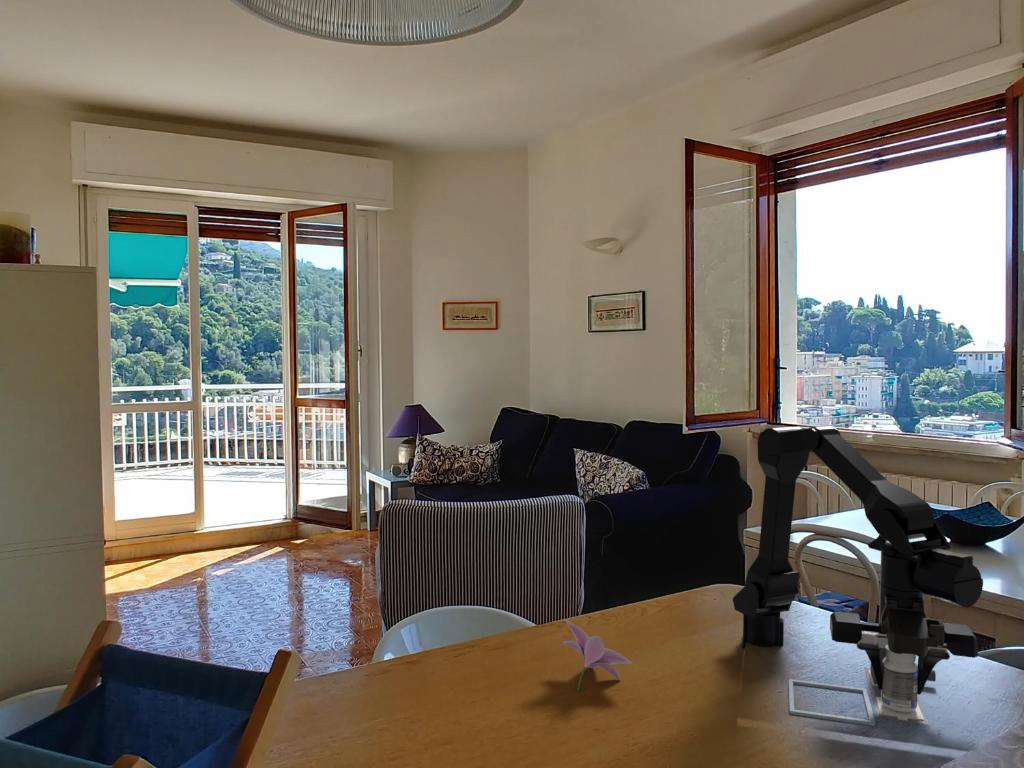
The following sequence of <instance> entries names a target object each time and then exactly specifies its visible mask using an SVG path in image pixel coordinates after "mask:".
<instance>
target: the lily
mask: <svg viewBox="0 0 1024 768" xmlns="http://www.w3.org/2000/svg"><path fill="white" fill-rule="evenodd" d="M564 622H565V623H566V625H567V627H568V628H569V629H570V630H571V632H572V634H573V636H574V639H575V640H564V641H562V644H564V645H565V646H568V647H569V648H571V649H573V650H574V651H576V652H578V653H580V654H581V656H582V658H583V660H584V666H583V668H582V670H581V673H580V676H579V679H578V680H579V681H578V682H577V683H578V684H577V688H576V690H577V691H579V690H580V686H581V682H582V680H583V679H582V678H583V675H584V674H585V671H586V668H588V667H589V668H591V669H596V668H599V667H601V668H602V669H604V670H606V671H607V672H608V673H610V674H611V675H612V676H614V678H616V679H617V680H618V681H620V682H621V680H622V679H621V677H620V674H619V672H618V671H617V670H616V668H615V667H614V666H613V665H622V664H623V665H624V664H625V665H631V664H633V662H632V661H631V660H630V659H628V657H626V656H624V655H623V654H621V653H619V652H618V651H617V650H616V651H615V650H614V649H611V648H606V647H605V645H604V643H603V640H602V639H601V637H600V636H599V635H593V636H590V637H589V635H588V634H587V633H586V632H585V631H584V630H583V629H582V628H580V627H579V626H577V624H575V623H573V622H571V621H569V620H566V619H565V621H564ZM587 666H588V667H587Z"/></svg>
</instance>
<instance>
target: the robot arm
mask: <svg viewBox="0 0 1024 768" xmlns="http://www.w3.org/2000/svg"><path fill="white" fill-rule="evenodd" d="M840 432H841V431H839V429H837V428H836V427H833V426H832V425H818V426H811V427H808V428H802V427H800V426H783V427H782V426H781V427H780V426H779V427H768V428H766V429H764V430H763V431H762V432H760V433H759V435H758V438H757V461H758V463H759V465H760V467H761V468H760V469H761V471H762V472H763V475H764V476H765V480H764V489H763V490H764V492H763V503H762V512H761V524H760V533H759V534H760V535H759V544H758V545H759V547H758V553H757V557H756V558H755V559H754V560H753V562H752V563H751V565H750V567H749V568H748V570H747V573H746V577H745V582H744V587H742V588H741V589H740V590H739V591H738V592H737V593H735V595H734V596H733V597H732V602H733V607H734V610H735V611H737V612H739V613H741V614H742V639H741V648H742V649H746V645H747V644H749V645H753V646H756V647H765V648H771V647H775V646H776V647H780V646H781V647H783V646H784V633H785V631H784V630H785V629H784V625H785V624H784V623H785V622H784V619H783V618H782V617H781V613H782V612H789V611H790V609H791V605H792V602H794V601H795V599H796V595H799V594H800V591H799V581H800V577H801V576H800V572H799V571H796V570H794V568H793V566H792V564H791V562H790V560H789V555H790V554H789V553H790V545H791V544H790V543H791V542H790V541H791V535H792V523H793V513H794V512H793V511H794V503H795V493H796V492H795V490H796V482H797V480H798V478H799V476H800V475H801V473H802V472H803V471H804V469H805V468H806V466H807V464H808V461H809V456H810V453H811V452H812V453H814V455H816V457H817V458H818V459H819V460H820V461H821V462H822V463H823V464H824V465H825V466H826V467H827V468H828V469H829V470H830V471H831V472H832V473H833V475H835V476H836V477H837V478H838V479H839V480H840V481H841V482H842V483H843V484H844V485H845V486H846V487H847V489H848V490H849V491H851V493H853V495H855V496H856V498H858V500H859V501H860V502H861V503H862V505H863V509H864V515H865V518H866V519H867V520H868V521H869V523H870V524H871V526H872V527H873V528H874V530H875V531H876V532H877V534H878V536H877V537H876V538H875V539H873V540H872V541H870V542H869V543H868V544H867V546H868V549H872V550H875V551H878V552H880V570H879V571H880V574H879V575H880V578H879V579H880V580H879V581H880V582H879V610H878V612H879V616H878V622H877V623H875V622H866V621H861V619H860V618H861V617H860V615H859V613H854V612H852V613H851V612H842V611H833V612H832V613H831V614H830V617H829V631H830V637H831V640H832V641H834V642H836V643H844V644H852V645H855V646H856V648H857V649H859V650H861V651H864V652H865V653H866V655H867V657H868V660H869V662H870V665H871V664H872V667H873V671H874V674H875V677H876V681H877V684H878V688H879V689H880V690H882V672H881V663H880V648H879V645H878V643H877V637H881V638H887V640H888V648H889V650H890V651H892V652H893V653H897V654H902V653H906V654H915V655H916V657H918V658H917V666H918V686H917V696H921V694H922V692H923V690H924V689H925V686H926V684H927V679H928V677H929V675H930V673H931V671H932V670H934V668H935V666H936V665H937V664H938V663H940V661H942V660H944V661H945V660H946V661H948V660H950V658H951V655H952V656H955V657H965V658H972V659H975V658H978V657H979V643H978V639H977V638H976V636H975V634H974V633H973V631H972V629H971V628H969V626H968V625H966V624H958V623H949V622H944V620H943V619H935V618H929V617H927V616H926V613H925V604H924V603H925V595H926V596H929V597H932V598H935V599H937V600H941V601H943V602H946V603H949V604H951V605H952V604H953V605H955V606H958V607H961V608H964V609H965V608H966V609H967V608H970V607H972V606H974V605H975V604H976V603H978V600H979V599H980V597H981V595H982V592H983V587H984V579H983V578H982V574H981V572H980V570H979V568H977V566H975V565H974V564H973V563H974V562H973V561H974V557H973V556H972V555H970V554H967V553H958V552H953V551H950V550H951V548H952V547H951V545H950V543H949V542H948V539H947V538H946V536H945V533H943V530H942V529H941V527H940V526H939V523H938V522H937V520H936V518H935V516H934V514H935V513H934V510H933V507H932V506H930V504H929V503H928V502H926V500H924V499H922V497H920V496H918V495H917V494H915V493H913V492H912V491H911V490H909V489H907V488H904V487H902V486H899V485H897V484H894V483H892V482H891V481H890V480H888V479H887V478H886V477H884V475H882V474H881V473H880V472H879V471H878V470H877V469H876V468H875V466H873V465H872V464H871V463H870V462H869V461H868V460H866V458H865V457H864V456H863V455H861V453H860V452H858V450H857V449H855V448H854V447H853V446H852V445H851V444H850V443H849V442H848V441H847V440H846V439H845V438H843V436H842V435H841V433H840ZM922 538H925V539H922ZM915 539H922V540H915ZM910 540H915V541H910ZM950 654H951V655H950Z"/></svg>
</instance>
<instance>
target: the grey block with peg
mask: <svg viewBox="0 0 1024 768" xmlns="http://www.w3.org/2000/svg"><path fill="white" fill-rule="evenodd" d="M877 643H878V645H879V648H880V663H881V672H882V661H883V659H884V658H886V657H885V646H886V645H888V640H887V638H881V637H877ZM870 669H871V675H872V678H873V682H874V684H877V681H876V677H875V674H874V671H873V667H872V664H871V663H870ZM936 674H937V673H936V671H935V670H934V669H932V671H931V673H930V675H929V677H928V679H927V681H928V682H936V679H937V678H936V677H937V676H936ZM927 681H926V682H927Z"/></svg>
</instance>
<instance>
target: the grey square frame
mask: <svg viewBox="0 0 1024 768" xmlns="http://www.w3.org/2000/svg"><path fill="white" fill-rule="evenodd" d="M794 685H799V686H806V687H815V688H820V689H822V688H823V689H829V690H837V691H844V692H845V691H846V692H853V693H860V694H862V696H863V700H864V704H865V709H866V713H867V716H868V719H864V718H863V719H862V718H855V717H849V716H843V715H836V714H835V715H834V714H830V713H829V714H828V713H822V712H821V713H820V712H814V711H806V710H801V709H800V710H799V709H795V701H794V700H795V698H794V697H795V696H794ZM788 698H789V699H788V706H789V715H794V716H801V717H802V716H803V717H808V718H816V719H824V720H830V721H831V720H832V721H838V722H845V723H852V724H857V725H858V724H859V725H865V726H870V727H871V726H873V727H875V726H876V721H875V718H874V713H873V709H872V705H871V701H870V697H869V694H868V690H867V688H863V687H862V688H860V687H854V686H846V685H838V684H830V683H822V682H817V681H807V680H799V679H792V678H789V679H788Z"/></svg>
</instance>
